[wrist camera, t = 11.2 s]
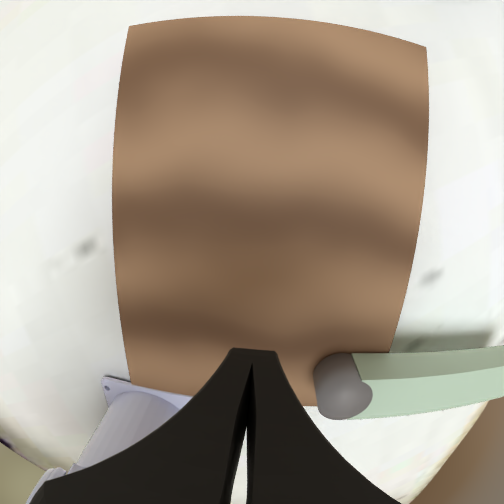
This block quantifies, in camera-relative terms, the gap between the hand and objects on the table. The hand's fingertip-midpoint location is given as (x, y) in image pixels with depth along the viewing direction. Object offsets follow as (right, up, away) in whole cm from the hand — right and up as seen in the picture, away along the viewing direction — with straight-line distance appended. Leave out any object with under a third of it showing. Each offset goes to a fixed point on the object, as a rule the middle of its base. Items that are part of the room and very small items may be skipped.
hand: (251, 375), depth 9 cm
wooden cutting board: (+1, +5, +8) cm, 10 cm away
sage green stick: (+12, -4, +7) cm, 14 cm away
